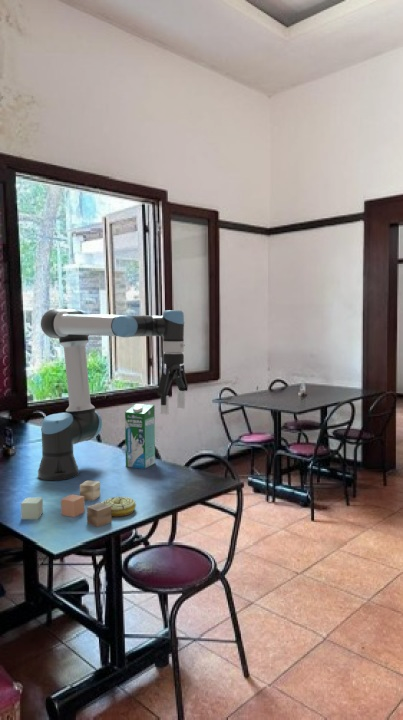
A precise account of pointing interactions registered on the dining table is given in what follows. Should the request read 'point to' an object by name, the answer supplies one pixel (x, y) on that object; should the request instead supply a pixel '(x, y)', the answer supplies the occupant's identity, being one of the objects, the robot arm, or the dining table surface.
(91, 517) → the walnut cube
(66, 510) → the terracotta cube
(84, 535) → the dining table surface
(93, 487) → the beech cube
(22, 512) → the sage cube
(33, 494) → the dining table surface
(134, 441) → the milk carton
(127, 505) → the decorated donut
